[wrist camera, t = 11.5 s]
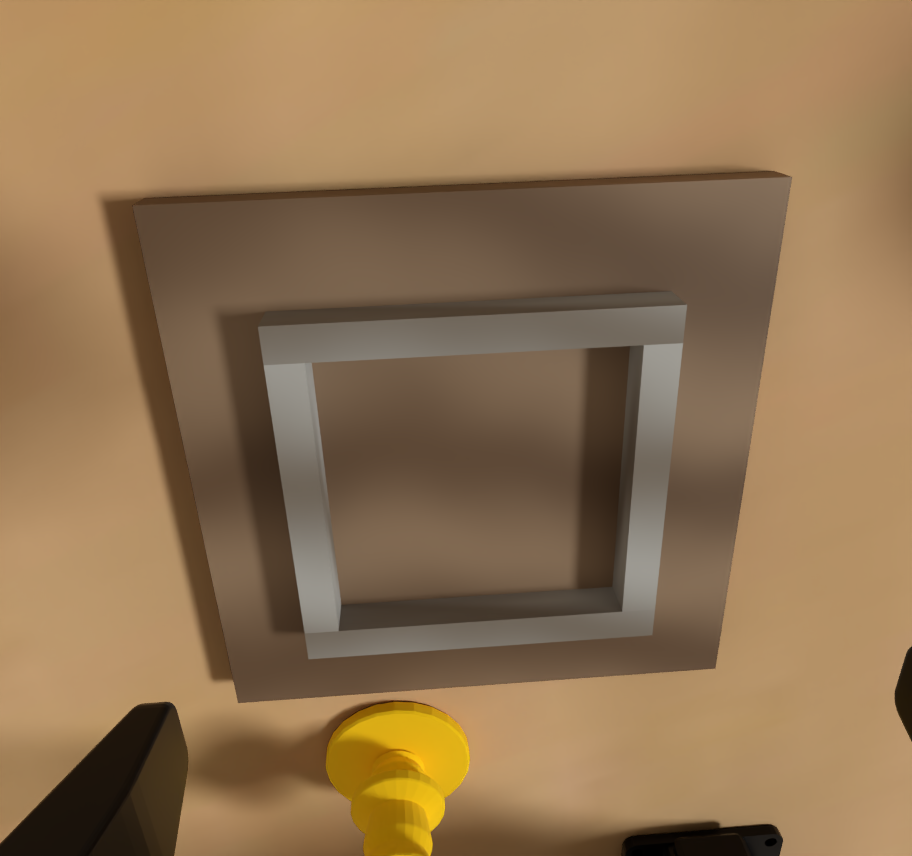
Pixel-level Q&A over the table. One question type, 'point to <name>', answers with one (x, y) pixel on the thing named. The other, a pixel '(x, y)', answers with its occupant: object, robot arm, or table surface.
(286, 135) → the table surface
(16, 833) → the robot arm
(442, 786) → the candle
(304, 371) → the socket board
